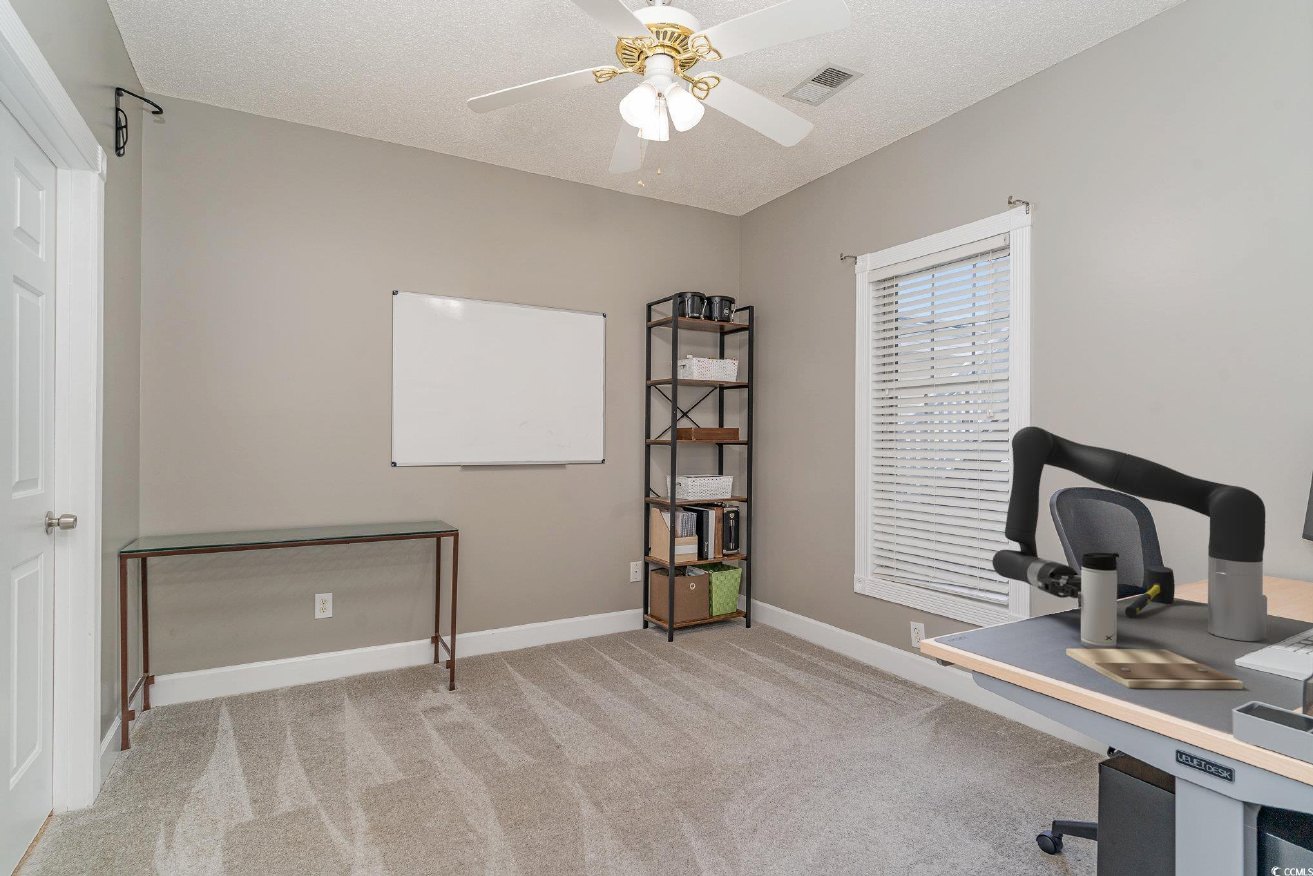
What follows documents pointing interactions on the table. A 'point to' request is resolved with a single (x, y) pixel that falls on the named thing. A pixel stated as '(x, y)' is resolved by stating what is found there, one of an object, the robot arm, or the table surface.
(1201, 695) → the table surface
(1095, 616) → the travel mug
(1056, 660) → the table surface
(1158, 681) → the plywood panel
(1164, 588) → the mallet
